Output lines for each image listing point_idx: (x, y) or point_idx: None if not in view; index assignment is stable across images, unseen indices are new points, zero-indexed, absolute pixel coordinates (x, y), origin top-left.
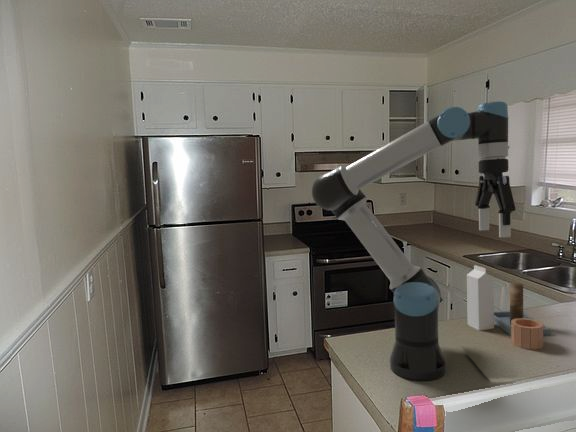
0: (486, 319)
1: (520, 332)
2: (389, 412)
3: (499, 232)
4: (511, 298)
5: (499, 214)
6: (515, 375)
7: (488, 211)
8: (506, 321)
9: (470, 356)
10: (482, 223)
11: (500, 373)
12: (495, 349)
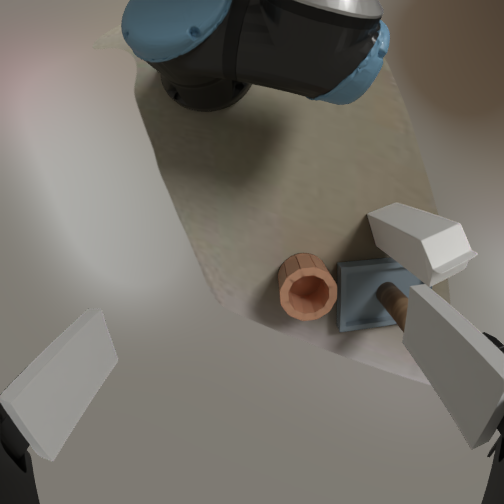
0: (380, 236)
1: (287, 271)
2: (95, 45)
3: (82, 321)
4: (405, 305)
5: (11, 395)
6: (190, 218)
7: (462, 428)
8: (401, 279)
9: (259, 164)
10: (431, 326)
11: (195, 196)
12: (291, 218)
